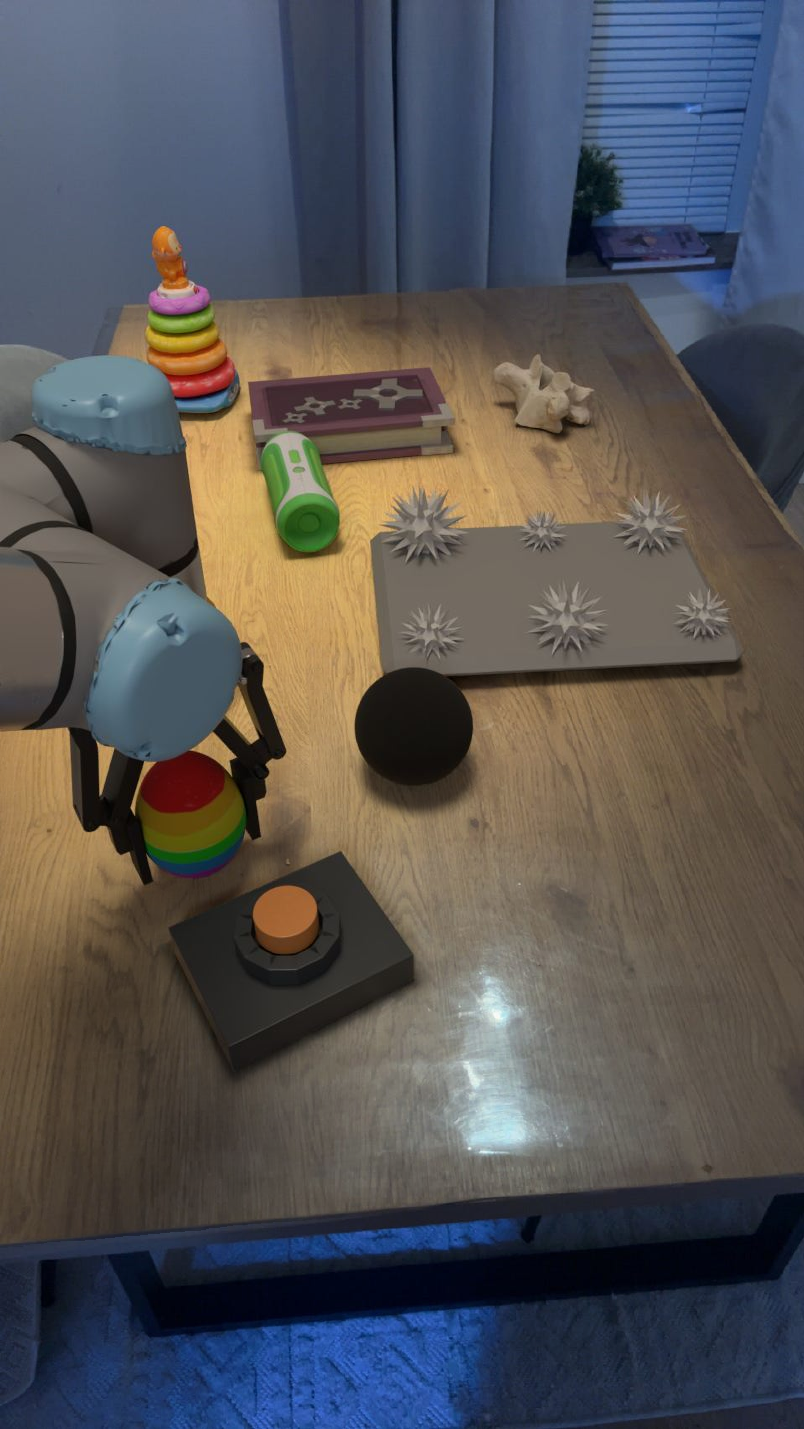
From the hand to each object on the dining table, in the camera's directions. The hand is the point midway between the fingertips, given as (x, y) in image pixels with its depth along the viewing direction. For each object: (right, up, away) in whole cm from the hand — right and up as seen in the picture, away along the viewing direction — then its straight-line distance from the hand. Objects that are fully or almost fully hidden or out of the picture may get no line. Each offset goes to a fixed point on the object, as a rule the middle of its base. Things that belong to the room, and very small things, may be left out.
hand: (197, 848), depth 79 cm
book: (+9, +48, +57) cm, 75 cm away
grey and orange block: (+8, -8, -5) cm, 12 cm away
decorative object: (+35, +50, +59) cm, 85 cm away
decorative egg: (0, 0, 0) cm, 0 cm away
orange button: (+8, -4, -8) cm, 12 cm away
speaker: (+4, +34, +41) cm, 54 cm away
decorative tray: (+31, +22, +28) cm, 47 cm away
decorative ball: (+17, +6, +10) cm, 20 cm away
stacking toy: (-14, +55, +66) cm, 87 cm away
